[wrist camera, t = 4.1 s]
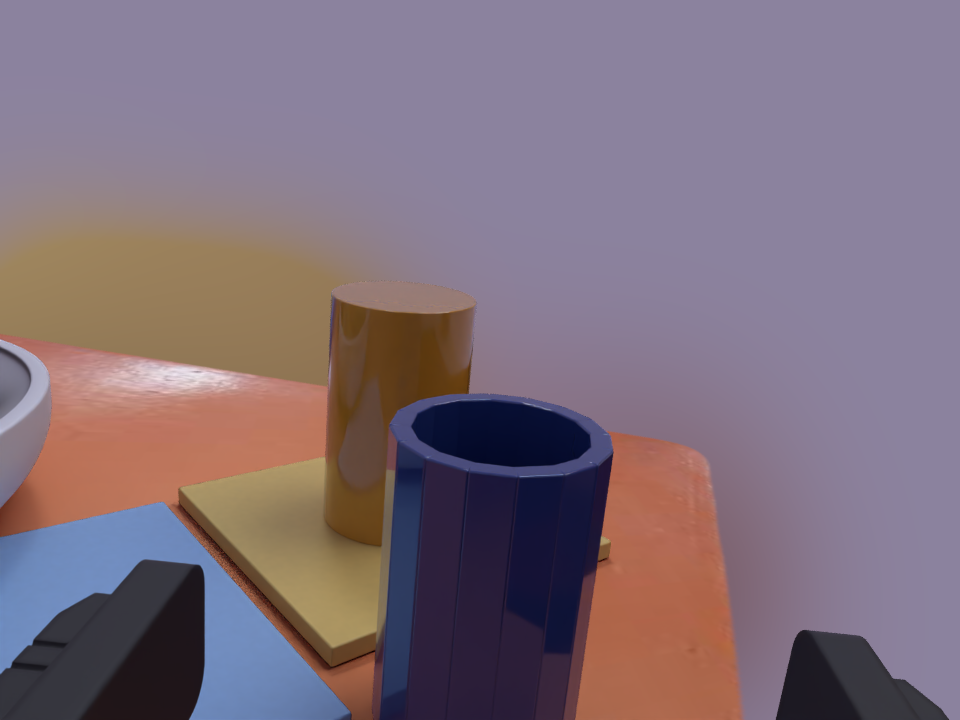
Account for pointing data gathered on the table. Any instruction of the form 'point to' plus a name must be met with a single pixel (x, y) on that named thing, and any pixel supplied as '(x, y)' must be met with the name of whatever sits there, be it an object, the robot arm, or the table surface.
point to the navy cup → (487, 558)
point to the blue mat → (228, 610)
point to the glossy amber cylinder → (384, 385)
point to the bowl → (21, 415)
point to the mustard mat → (298, 553)
